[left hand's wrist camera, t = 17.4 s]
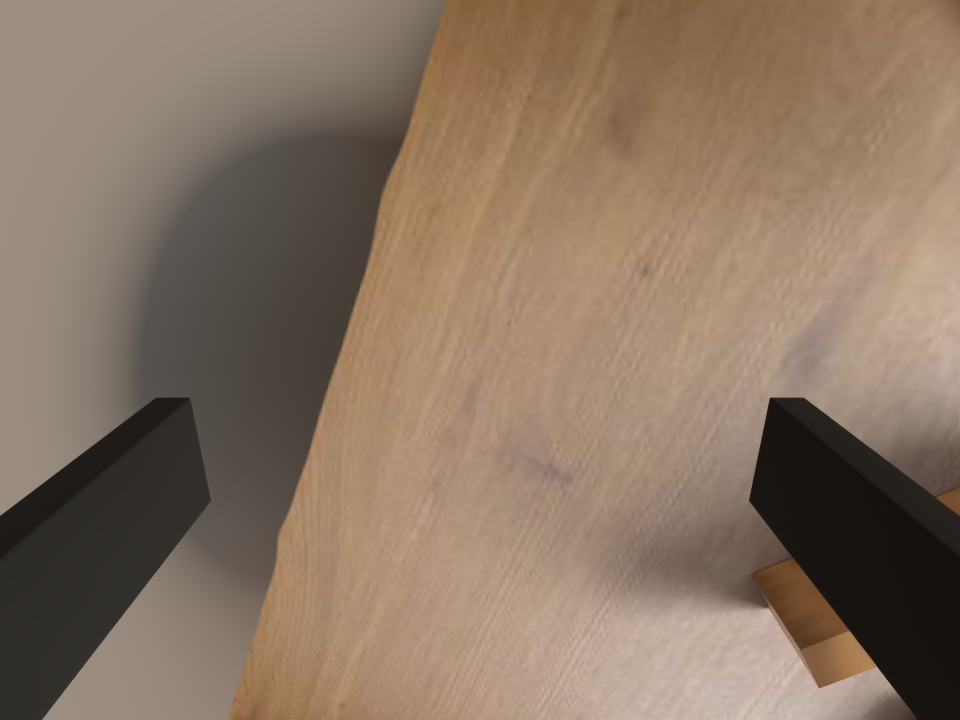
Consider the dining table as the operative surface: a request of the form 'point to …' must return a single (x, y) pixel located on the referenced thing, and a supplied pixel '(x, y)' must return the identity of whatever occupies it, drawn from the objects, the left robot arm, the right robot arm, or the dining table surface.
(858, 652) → the bar
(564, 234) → the dining table surface
